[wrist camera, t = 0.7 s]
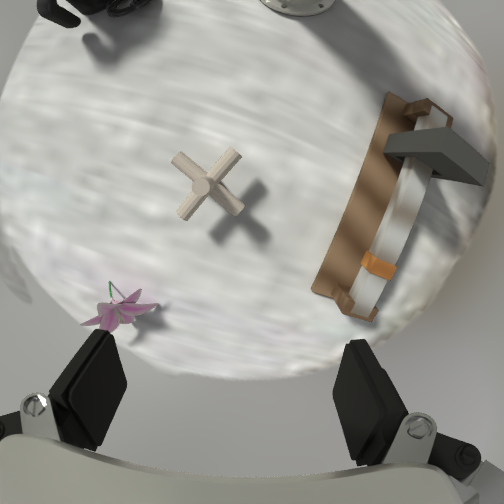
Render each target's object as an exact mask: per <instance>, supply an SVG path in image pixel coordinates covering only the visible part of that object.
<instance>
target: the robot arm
mask: <svg viewBox="0 0 504 504" xmlns="http://www.w3.org/2000/svg"><path fill="white" fill-rule="evenodd" d="M260 1H262V2H263V3H264V4H265V5H267V6H268V7H270V8H272V9H274V10H276V11H279V12H282V13H285V14H289V15H296V16H310V15H316V14H319V13H322V12H324V11H326V10H327V9H328V8H329V7H331V5H332V4H333V2H334V0H260ZM126 388H127V380H126V377H125V374H124V371H123V368H122V364H121V361H120V358H119V354H118V350H117V347H116V343H115V339H114V336H113V335H112V334H110V332H109V331H108V330H102V329H95V330H94V331H93V332H92V334H91V335H90V336H89V338H88V339H87V340H86V341H85V343H84V344H83V345H82V347H81V348H80V349H79V351H78V352H77V353H76V354H75V356H74V357H73V359H72V360H71V361H70V362H69V364H68V365H67V367H66V368H65V369H64V371H63V372H62V373H61V375H60V376H59V378H58V379H57V380H56V382H55V383H54V385H53V386H52V388H51V389H50V390H49V392H50V394H49V395H48V396H46V395H45V394H43V393H32V394H29V395H28V396H26V397H25V398H24V399H23V400H22V402H21V404H20V411H17V412H14V413H10V414H7V415H3V416H0V504H504V472H503V471H502V470H500V469H499V468H497V467H496V466H494V465H493V464H491V463H490V462H488V461H487V460H485V461H484V462H482V461H481V454H480V452H479V450H478V449H477V448H476V447H475V446H474V445H472V444H469V443H466V442H463V441H460V440H457V439H454V438H451V437H448V436H446V435H443V434H440V433H438V432H437V426H436V423H435V421H434V420H433V419H432V418H431V417H430V416H428V415H426V414H424V413H419V412H418V413H411V414H409V413H408V411H407V409H406V407H405V405H404V403H403V401H402V400H401V398H400V396H399V394H398V392H397V390H396V388H395V387H394V385H393V383H392V381H391V380H390V378H389V376H388V374H387V372H386V371H385V370H384V369H383V368H381V366H380V364H379V362H378V361H377V359H376V357H375V355H374V353H373V352H372V350H371V348H370V346H369V345H368V343H367V341H366V340H365V339H357V340H351V341H350V343H349V344H346V345H345V349H344V353H343V356H342V360H341V364H340V368H339V371H338V375H337V378H336V381H335V385H334V388H333V399H334V402H335V406H336V409H337V412H338V416H339V419H340V423H341V425H342V429H343V432H344V436H345V439H346V443H347V446H348V450H349V453H350V457H351V459H352V460H356V464H357V466H362V465H367V467H360V468H355V469H349V470H343V471H335V472H328V473H320V474H310V475H299V476H284V477H283V476H282V477H229V476H213V475H203V474H193V473H185V472H178V471H171V470H165V469H160V468H154V467H149V466H144V465H139V464H135V463H131V462H127V461H122V460H119V459H115V458H111V457H108V456H105V455H101V454H97V453H94V452H91V451H88V450H85V449H84V448H86V449H89V450H92V451H96V449H97V447H98V446H101V445H102V443H103V440H104V438H105V436H106V433H107V431H108V429H109V426H110V424H111V422H112V419H113V417H114V415H115V412H116V410H117V408H118V406H119V404H120V401H121V399H122V397H123V395H124V393H125V390H126Z"/></svg>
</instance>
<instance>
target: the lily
mask: <svg viewBox="0 0 504 504" xmlns="http://www.w3.org/2000/svg"><path fill="white" fill-rule="evenodd" d="M141 290H142V289H139V290H137V291H136V292H135V293H133V294H132V295H131V296H129V297H128V298H126V299H125V300H123V301H122V302H118V301H115V300H113V297H112V293H111V282H110V281H109V292H110V297H111V302H110V303H98V305H97V310H98V314H99V315H98V316H96V317H95V318H93V319H90V320H88V321H86V322H84V323H82V324H80V325H81V326H91V325H97V324H100V327H99V329H102V330H108V331H109V332H110V333H111V332H113V331H114V330H115V329H116V328H117V327H118V326H119V324H129V323H132V322H133V321H134V316H138V315H141V314H144V313H146V312H147V311H149V310H151V309H153V308H154V307H156V306H157V305H158V303H154V304H134V303H136V302H137V301H138V299H139V297H140V294H141Z"/></svg>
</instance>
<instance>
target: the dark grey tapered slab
mask: <svg viewBox="0 0 504 504" xmlns="http://www.w3.org/2000/svg"><path fill="white" fill-rule="evenodd" d="M383 153H384V154H386V155H388V156H390V157H391V158H393V159H395V160H397V161H398V162H400V163H402V164H403V163H404V160H405V157H416V158H417V159H419V160H420V161H422V162H423V163H425V164H426V165H428V166H429V167H431V168H432V169H433V171H432V175H431V177H433V178H439V179H446V180H452V181H457V182H463V183H468V184H474V185H479V186H484V183H485V179H486V175H487V172H488V168H489V164H490V163H489V162H488V161H487V160H486V159H485V158H484V157H483V156H482V155H481V154H479V153H478V152H477V151H476V150H475V149H474V148H473V147H472V146H471V145H469V144H468V143H467V142H466V141H465V140H464V139H462V138H461V137H460V136H459V135H458V134H456V133H455V132H454V131H453V130H451V129H450V128H449V127H439V128H431V129H422V130H415V131H407V132H400V133H394V134H389V136H388V139H387V142H386V145H385V148H384V151H383Z"/></svg>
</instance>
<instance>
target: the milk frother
mask: <svg viewBox="0 0 504 504" xmlns="http://www.w3.org/2000/svg"><path fill="white" fill-rule="evenodd" d="M66 1H68V2H69V3H70V4H71V5H72V6H74V7H75V8H76V9H77V10H78V11H79V12H80V13H82V14H93V13H96V12H98V11H101V10H102V9H104V8H106V7H107V13H108V14H109V16H111V17H119V16H123V15H126V14H129V13H131V12H134V11H136V10H138V9H140V8H141V7H143V6H145V5H146V4H148V3H149V2H150V1H151V0H133V2H132V3H131V4H130V7H127V8H124V9H121V10H118V9H116V8H117V6H118V5H119V4H120V3H121V2H122V1H124V0H116V1H115V2H114V3H113V4H112V5H111V6H110V7H109V5H110V4H111V3H112V2H113V1H114V0H66ZM37 10H38V13H39V14H40V15H41V16H42V17H44V18H46V19H48V20H50V21H52V22H54V23H57V24H59V25H61V26H63V27H65V28H74V27H77V26H79V24H80V23H81V19H80V18H78V17H77V16H75V15H74V14H72V13H71V12H69V11H67V10H66V9H64V8H63V7H60V6H59V5H58V4H57V1H56V0H37Z"/></svg>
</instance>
